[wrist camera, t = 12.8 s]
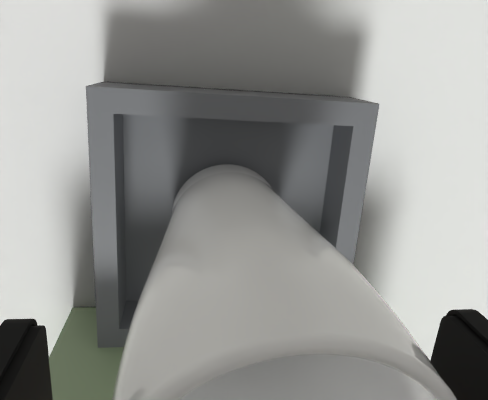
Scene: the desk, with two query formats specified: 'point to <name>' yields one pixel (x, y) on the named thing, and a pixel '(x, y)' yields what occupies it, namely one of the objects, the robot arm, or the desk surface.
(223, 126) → the green box with frame
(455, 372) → the robot arm
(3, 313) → the desk surface
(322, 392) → the drinking glass
